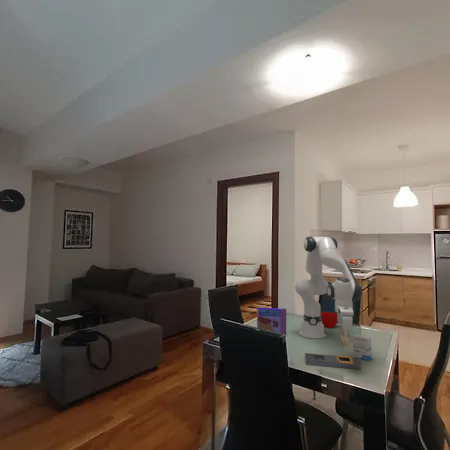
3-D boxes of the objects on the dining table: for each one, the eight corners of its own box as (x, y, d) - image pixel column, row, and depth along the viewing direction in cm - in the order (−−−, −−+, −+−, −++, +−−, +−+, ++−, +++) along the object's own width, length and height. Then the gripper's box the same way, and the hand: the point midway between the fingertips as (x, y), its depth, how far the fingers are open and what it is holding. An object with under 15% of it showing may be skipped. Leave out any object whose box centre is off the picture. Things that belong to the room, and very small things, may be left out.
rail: (304, 357, 165) (304, 352, 165) (356, 362, 160) (356, 356, 160) (306, 364, 155) (306, 359, 155) (360, 369, 150) (360, 364, 150)
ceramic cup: (345, 329, 223) (345, 316, 223) (321, 328, 225) (321, 315, 226) (341, 325, 235) (341, 312, 236) (319, 324, 238) (319, 311, 239)
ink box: (372, 358, 165) (371, 337, 166) (368, 361, 162) (368, 339, 163) (356, 354, 171) (356, 333, 172) (352, 356, 168) (352, 335, 169)
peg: (339, 343, 159) (339, 324, 160) (347, 344, 158) (347, 325, 159) (341, 345, 155) (340, 326, 156) (349, 346, 154) (348, 326, 155)
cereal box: (256, 349, 177) (257, 308, 179) (257, 346, 182) (257, 307, 184) (286, 351, 175) (286, 310, 177) (285, 348, 180) (285, 308, 182)
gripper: (334, 304, 169) (334, 329, 168) (341, 312, 149) (341, 340, 148) (346, 305, 168) (346, 330, 167) (354, 312, 148) (355, 341, 147)
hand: (344, 335), depth 157 cm, fingers closed on peg, 4 cm apart
